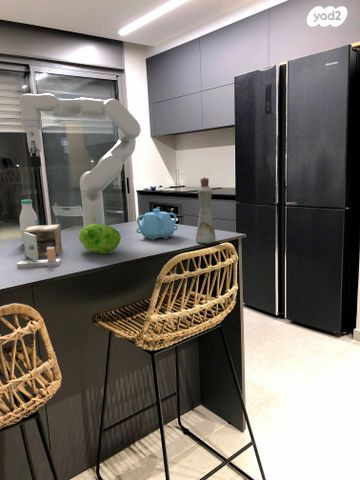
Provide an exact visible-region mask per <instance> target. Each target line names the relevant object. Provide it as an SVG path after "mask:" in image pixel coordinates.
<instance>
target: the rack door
mask: <svg viewBox="0 0 360 480" xmlns="http://www.w3.org/2000/svg"><path fill="white" fill-rule="evenodd" d="M23 239H24V244H23V247H24V254H25V255H24V257H26V258H28V259H30V260H31V261H32V260H40V259H39V256H38V249H37V240H36V235H33V234H30V233H28V232H25V231H23Z"/></svg>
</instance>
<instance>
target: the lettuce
mask: <svg viewBox="0 0 360 480" xmlns="http://www.w3.org/2000/svg"><path fill="white" fill-rule="evenodd" d="M78 239H79V241H80V243H81V244H82V246H83V247H84V248H85V249H86V250H87V251H89V252H91V253H95V254H101V255H102V254H110V253H112V252H114V250H115V249H116V248H117V247H118V246H119V245H120V241H121V239H122V236H121V233H120V231H119V230H117V229H115V228H114V227H113V226H112V225H109V224H105V225H104V224H90V225H88V226H86V227H84V226H83V228H81V229H80V230H79V234H78Z"/></svg>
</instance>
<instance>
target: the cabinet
mask: <svg viewBox="0 0 360 480" xmlns="http://www.w3.org/2000/svg"><path fill="white" fill-rule="evenodd" d="M24 231H25V232H28V233H30V234H33V235H36V240H37V249H38V257H40V256H42V257H43V256H47V247H55V253H56V254H57V255H60V253H61V252H62V250H63V244H62V233H61V224H47V225H46V224H43V225H38V226H29V227H28V228H27V229H25V230H24Z"/></svg>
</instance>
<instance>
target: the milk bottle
mask: <svg viewBox="0 0 360 480" xmlns="http://www.w3.org/2000/svg"><path fill="white" fill-rule="evenodd" d="M20 203H21V211H20V214H19V228H20V229H19V230H20V235H21V236H20V237H21V244H22V245H24V239H23V231H24V230H25V229H27V228H28V227H29V226H39V222H38V216H37V214H36V212H35V210H34V208H33V200H32V199H21V200H20Z"/></svg>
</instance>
